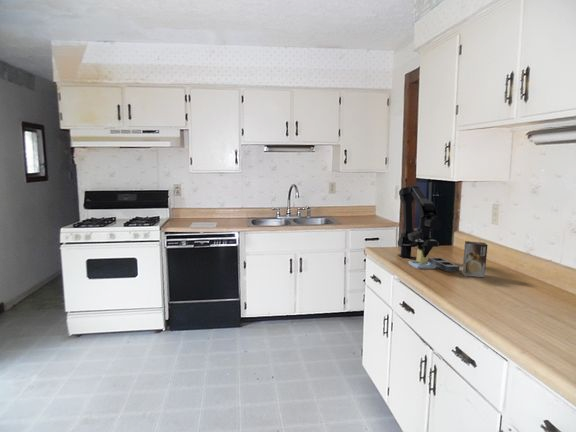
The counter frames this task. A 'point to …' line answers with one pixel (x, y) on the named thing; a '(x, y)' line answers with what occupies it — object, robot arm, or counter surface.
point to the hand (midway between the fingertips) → (422, 256)
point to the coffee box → (474, 259)
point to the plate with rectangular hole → (444, 264)
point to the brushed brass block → (421, 257)
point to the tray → (422, 265)
